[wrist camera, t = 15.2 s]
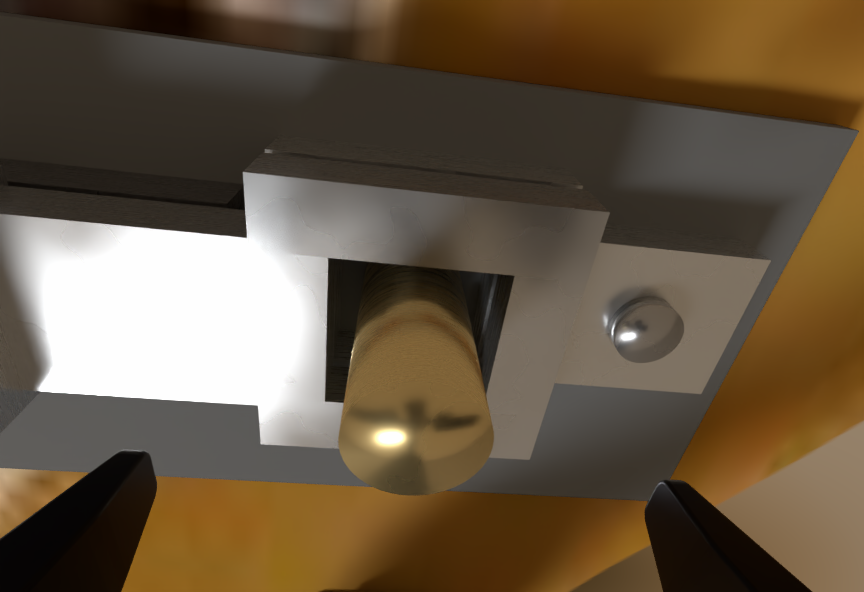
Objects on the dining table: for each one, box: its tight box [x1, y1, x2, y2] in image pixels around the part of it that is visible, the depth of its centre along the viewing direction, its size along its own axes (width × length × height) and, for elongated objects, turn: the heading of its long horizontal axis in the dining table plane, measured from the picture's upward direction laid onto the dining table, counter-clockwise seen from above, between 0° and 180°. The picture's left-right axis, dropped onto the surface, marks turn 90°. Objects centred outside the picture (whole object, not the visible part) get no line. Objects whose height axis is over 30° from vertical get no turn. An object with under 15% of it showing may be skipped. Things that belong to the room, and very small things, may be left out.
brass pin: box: [338, 262, 494, 495], centre depth 13 cm, size 3×3×7 cm
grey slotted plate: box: [0, 135, 771, 394], centre depth 14 cm, size 8×26×2 cm, turn 83°
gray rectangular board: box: [0, 12, 859, 501], centre depth 17 cm, size 16×30×1 cm, turn 83°
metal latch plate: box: [0, 152, 610, 460], centre depth 12 cm, size 8×17×3 cm, turn 83°
